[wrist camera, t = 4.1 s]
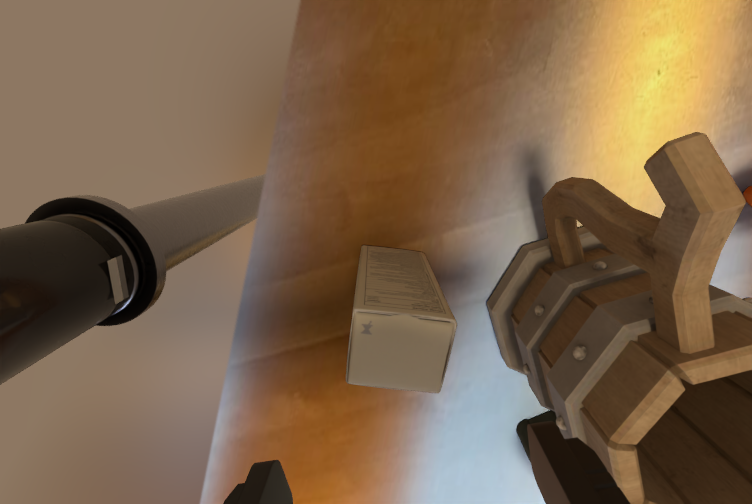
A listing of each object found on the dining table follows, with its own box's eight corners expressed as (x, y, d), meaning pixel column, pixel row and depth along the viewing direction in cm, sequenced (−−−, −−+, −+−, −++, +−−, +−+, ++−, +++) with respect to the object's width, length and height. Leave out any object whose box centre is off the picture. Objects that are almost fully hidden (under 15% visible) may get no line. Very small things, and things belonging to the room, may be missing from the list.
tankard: (662, 349, 29) (936, 550, 15) (511, 391, 30) (625, 610, 16) (627, 103, 24) (1005, 41, 9) (446, 168, 25) (528, 201, 11)
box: (355, 294, 28) (337, 384, 18) (361, 242, 27) (347, 307, 16) (419, 302, 28) (442, 398, 18) (429, 251, 27) (459, 321, 16)
